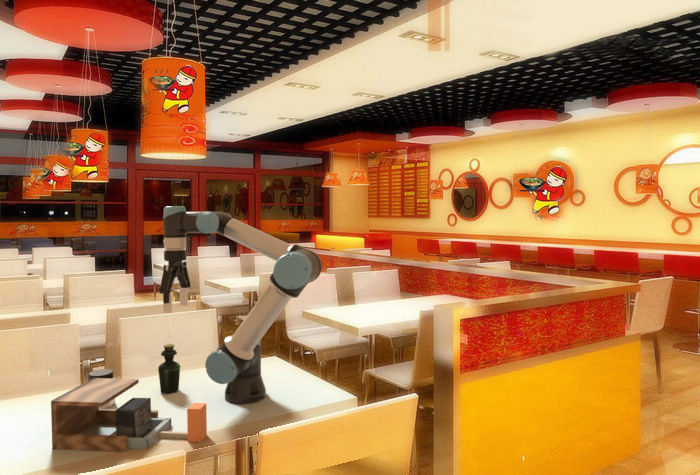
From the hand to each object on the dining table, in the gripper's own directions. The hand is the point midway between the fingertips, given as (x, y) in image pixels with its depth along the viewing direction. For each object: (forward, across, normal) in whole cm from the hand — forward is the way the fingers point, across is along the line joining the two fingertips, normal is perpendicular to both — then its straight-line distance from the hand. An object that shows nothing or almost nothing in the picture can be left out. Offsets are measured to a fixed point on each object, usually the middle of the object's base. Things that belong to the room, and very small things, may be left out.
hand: (176, 308), depth 181 cm
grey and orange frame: (+35, +26, +7) cm, 44 cm away
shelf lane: (+35, +26, -11) cm, 45 cm away
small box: (+35, +27, -2) cm, 44 cm away
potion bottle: (+35, -13, -9) cm, 38 cm away
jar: (+35, +3, -27) cm, 44 cm away
